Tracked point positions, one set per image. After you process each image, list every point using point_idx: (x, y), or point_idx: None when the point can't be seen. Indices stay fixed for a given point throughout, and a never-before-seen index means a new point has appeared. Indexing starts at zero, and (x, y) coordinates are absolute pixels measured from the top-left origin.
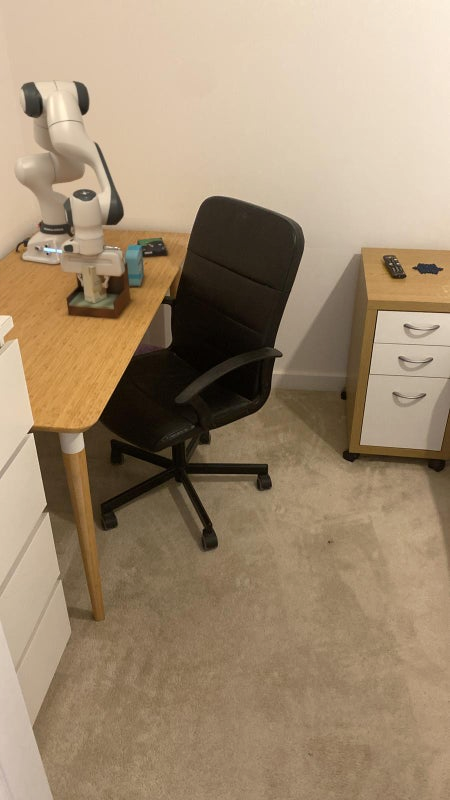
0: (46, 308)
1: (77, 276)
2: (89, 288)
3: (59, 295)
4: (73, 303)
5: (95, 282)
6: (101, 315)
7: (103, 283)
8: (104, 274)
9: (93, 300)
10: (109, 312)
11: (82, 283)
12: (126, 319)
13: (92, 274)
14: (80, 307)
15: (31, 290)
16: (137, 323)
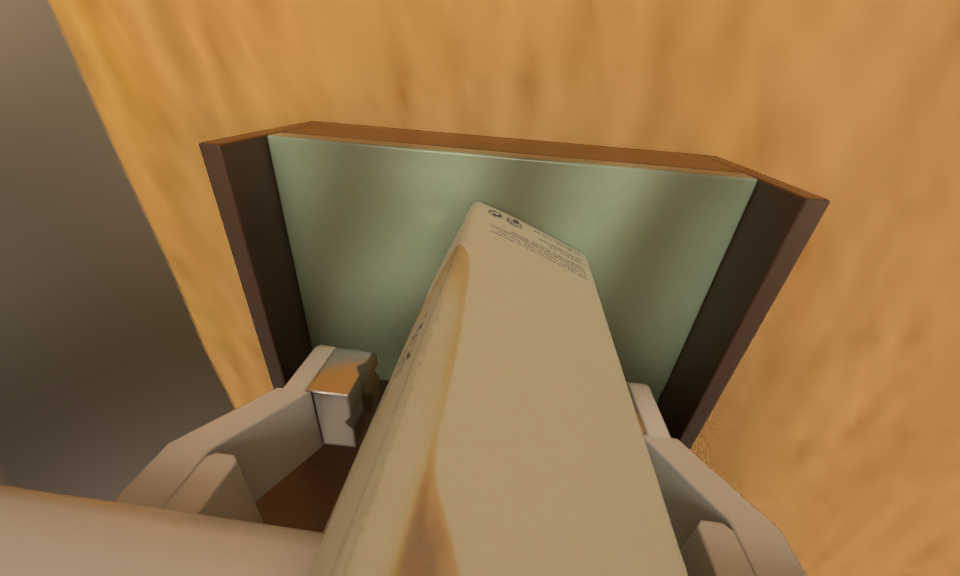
0: (903, 264)
1: (771, 528)
2: (516, 297)
3: (777, 434)
4: (704, 192)
5: (397, 371)
6: (425, 132)
7: (323, 388)
8: (110, 528)
9: (483, 212)
10: (340, 130)
11: (643, 410)
12: (237, 120)
13: (343, 534)
14: (619, 159)
15: (955, 486)
16: (117, 49)
